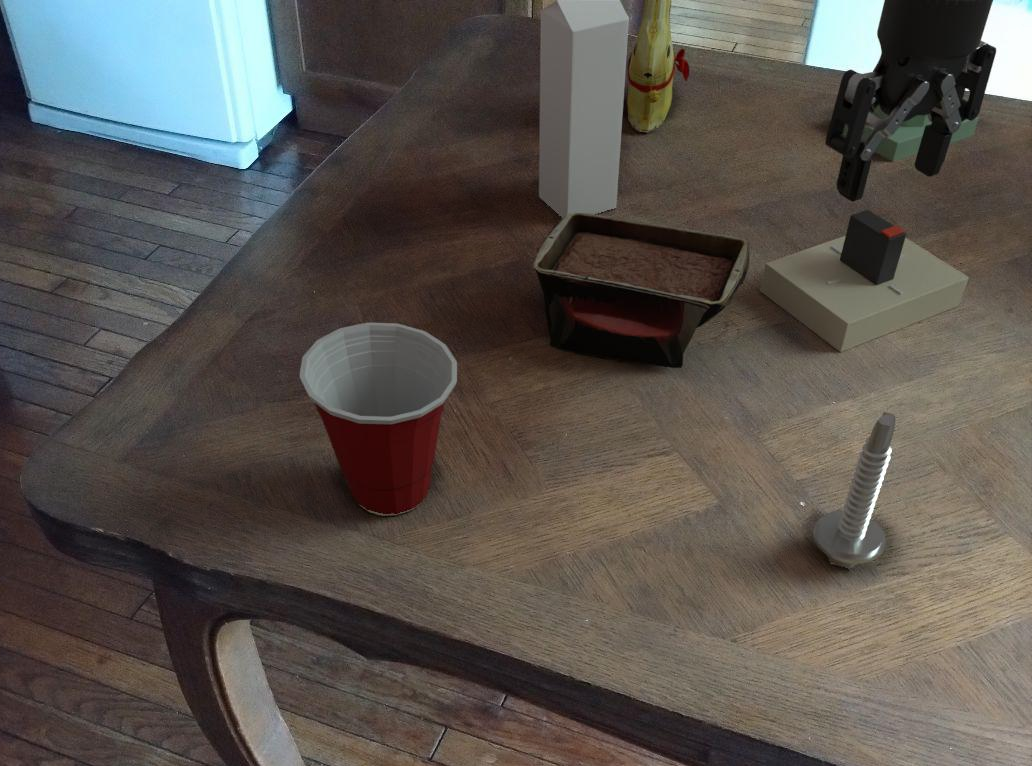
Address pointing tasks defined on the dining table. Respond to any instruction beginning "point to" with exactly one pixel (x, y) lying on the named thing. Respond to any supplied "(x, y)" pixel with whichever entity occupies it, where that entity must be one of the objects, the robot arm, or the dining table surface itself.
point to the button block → (911, 136)
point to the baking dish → (634, 286)
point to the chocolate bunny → (653, 68)
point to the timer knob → (872, 246)
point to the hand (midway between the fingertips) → (888, 184)
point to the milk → (581, 104)
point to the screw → (859, 505)
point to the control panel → (860, 292)
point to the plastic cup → (381, 408)
